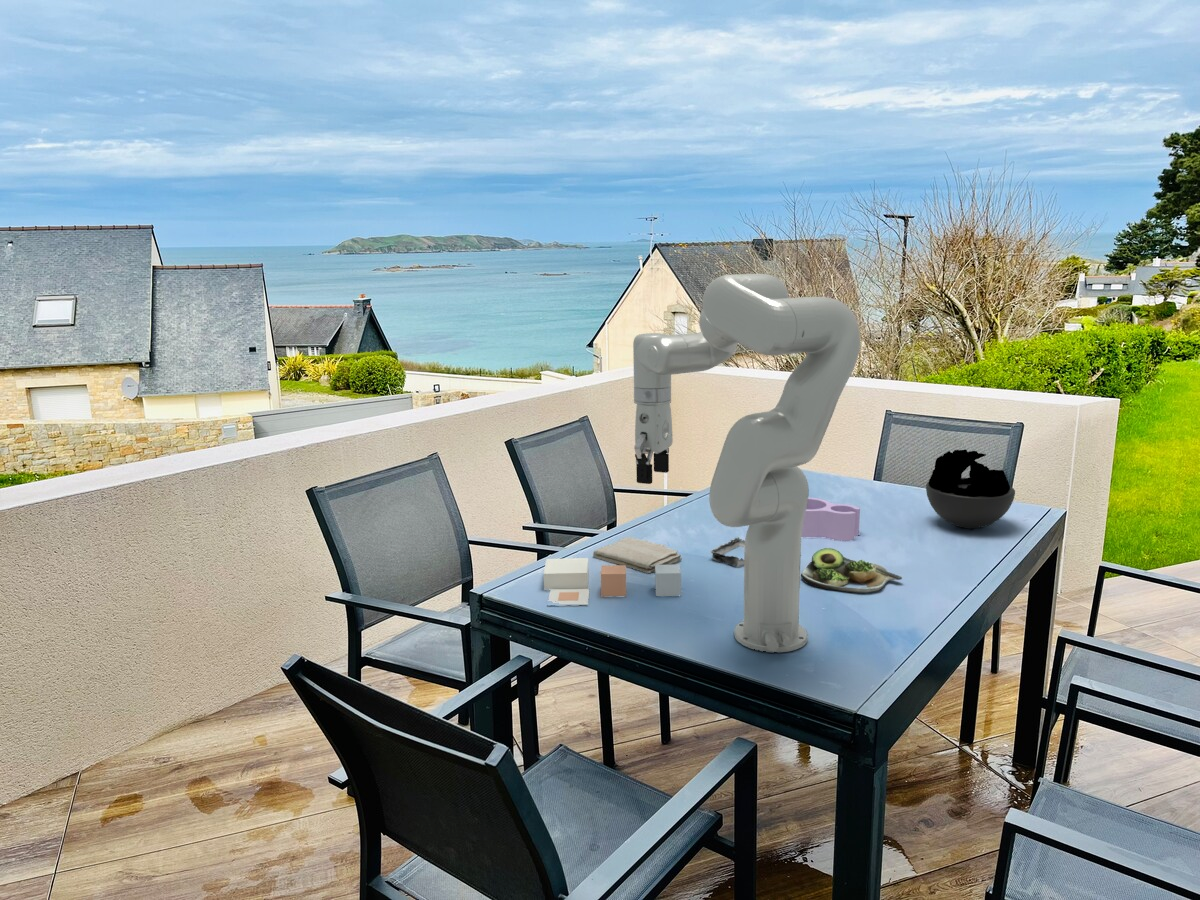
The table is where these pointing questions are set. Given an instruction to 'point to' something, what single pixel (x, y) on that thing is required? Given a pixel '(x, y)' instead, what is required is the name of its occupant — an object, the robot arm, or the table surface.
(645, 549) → the washcloth
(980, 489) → the coal bowl
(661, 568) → the grey blue block
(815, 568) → the salad plate
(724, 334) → the robot arm
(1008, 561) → the table surface
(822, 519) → the pink desk organizer
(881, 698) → the table surface
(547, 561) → the base block
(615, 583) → the terracotta block
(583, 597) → the card
